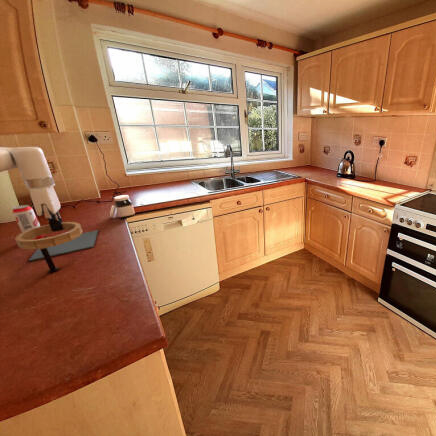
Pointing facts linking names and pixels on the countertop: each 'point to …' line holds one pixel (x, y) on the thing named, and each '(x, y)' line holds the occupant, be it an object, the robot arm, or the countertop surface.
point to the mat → (69, 246)
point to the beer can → (26, 219)
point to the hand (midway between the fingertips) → (58, 229)
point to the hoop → (27, 243)
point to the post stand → (48, 260)
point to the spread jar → (122, 207)
